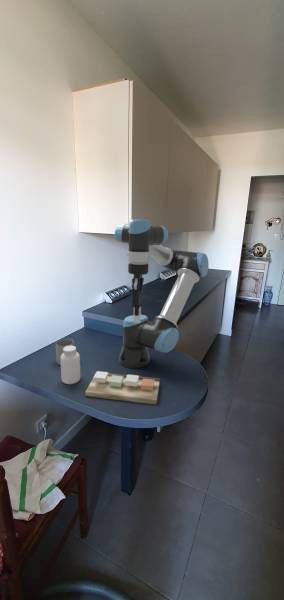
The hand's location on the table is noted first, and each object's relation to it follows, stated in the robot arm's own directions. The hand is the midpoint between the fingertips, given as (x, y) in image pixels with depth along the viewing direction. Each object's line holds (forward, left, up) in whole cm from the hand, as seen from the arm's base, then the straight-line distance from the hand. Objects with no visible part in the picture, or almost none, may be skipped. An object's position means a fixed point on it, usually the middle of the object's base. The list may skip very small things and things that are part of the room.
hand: (136, 322), depth 109 cm
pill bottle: (+1, -28, -29) cm, 40 cm away
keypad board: (+4, -4, -28) cm, 29 cm away
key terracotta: (+4, +6, -26) cm, 27 cm away
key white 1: (+4, -14, -25) cm, 28 cm away
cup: (-14, -37, -29) cm, 49 cm away
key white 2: (+4, -1, -25) cm, 25 cm away
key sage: (+4, -7, -26) cm, 27 cm away
